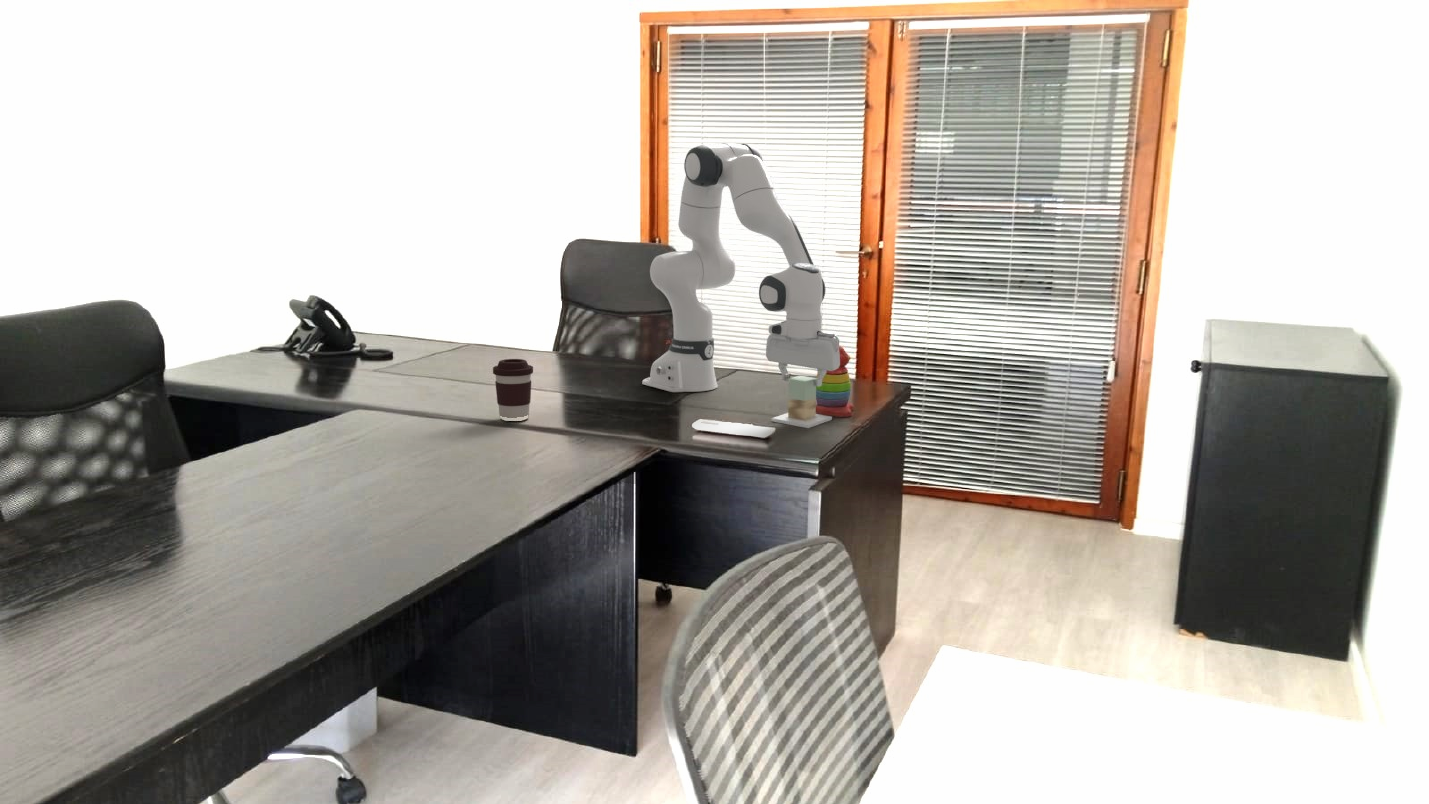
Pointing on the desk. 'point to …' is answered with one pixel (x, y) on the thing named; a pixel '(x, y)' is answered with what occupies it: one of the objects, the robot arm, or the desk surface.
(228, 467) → the desk surface
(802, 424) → the plate
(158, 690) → the desk surface
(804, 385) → the sage block
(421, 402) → the desk surface
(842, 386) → the stacking bear
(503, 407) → the coffee cup
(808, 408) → the oak block
